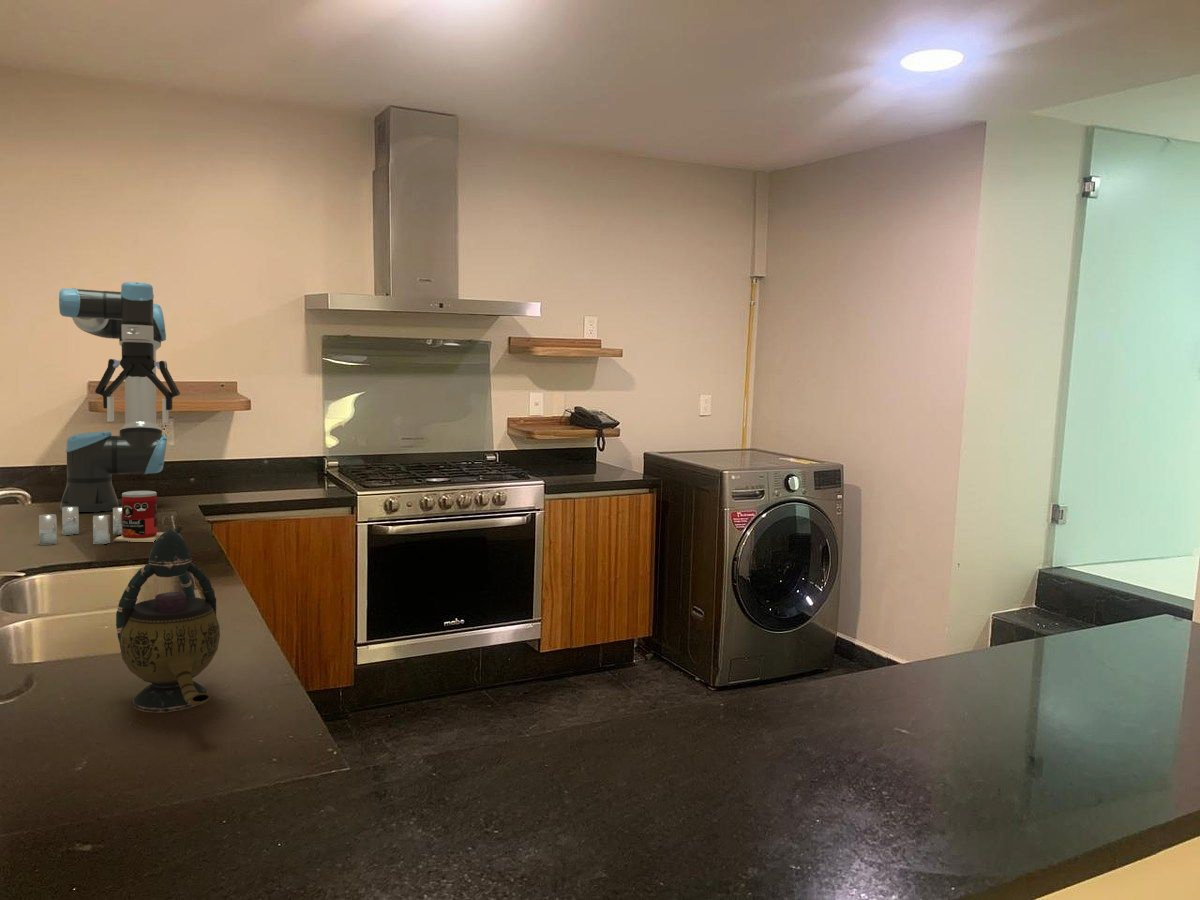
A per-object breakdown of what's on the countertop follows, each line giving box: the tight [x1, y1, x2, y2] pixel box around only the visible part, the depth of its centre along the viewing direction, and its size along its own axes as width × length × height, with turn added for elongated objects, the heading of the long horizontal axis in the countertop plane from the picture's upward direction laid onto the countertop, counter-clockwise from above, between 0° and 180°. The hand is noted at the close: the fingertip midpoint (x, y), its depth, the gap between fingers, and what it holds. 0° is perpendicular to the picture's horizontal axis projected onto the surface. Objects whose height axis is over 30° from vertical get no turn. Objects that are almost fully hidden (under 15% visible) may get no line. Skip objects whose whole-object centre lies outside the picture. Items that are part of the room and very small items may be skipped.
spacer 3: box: [92, 514, 111, 544], centre depth 217 cm, size 4×4×7 cm
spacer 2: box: [61, 506, 80, 536], centre depth 228 cm, size 4×4×7 cm
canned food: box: [121, 490, 158, 538], centre depth 225 cm, size 8×8×11 cm
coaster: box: [113, 531, 165, 543], centre depth 225 cm, size 10×9×1 cm
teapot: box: [115, 526, 221, 713], centre depth 115 cm, size 12×25×23 cm, turn 37°
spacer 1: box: [38, 513, 58, 546], centre depth 215 cm, size 4×4×7 cm
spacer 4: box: [112, 506, 122, 535], centre depth 230 cm, size 4×4×7 cm
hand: (138, 422), depth 237 cm, fingers open, 13 cm apart
